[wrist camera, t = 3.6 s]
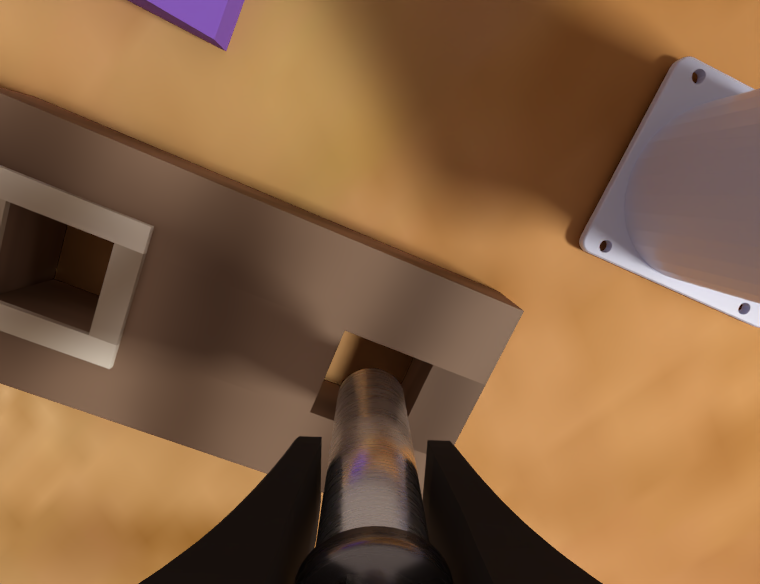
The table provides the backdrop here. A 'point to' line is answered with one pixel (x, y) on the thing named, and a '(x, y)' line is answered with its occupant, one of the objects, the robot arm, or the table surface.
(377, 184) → the table surface
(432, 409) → the board
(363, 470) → the pin
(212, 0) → the bracket
